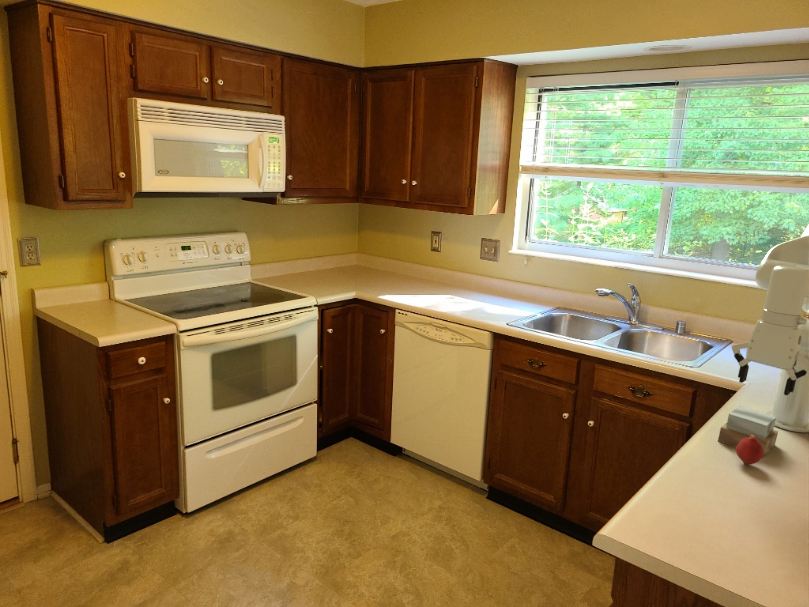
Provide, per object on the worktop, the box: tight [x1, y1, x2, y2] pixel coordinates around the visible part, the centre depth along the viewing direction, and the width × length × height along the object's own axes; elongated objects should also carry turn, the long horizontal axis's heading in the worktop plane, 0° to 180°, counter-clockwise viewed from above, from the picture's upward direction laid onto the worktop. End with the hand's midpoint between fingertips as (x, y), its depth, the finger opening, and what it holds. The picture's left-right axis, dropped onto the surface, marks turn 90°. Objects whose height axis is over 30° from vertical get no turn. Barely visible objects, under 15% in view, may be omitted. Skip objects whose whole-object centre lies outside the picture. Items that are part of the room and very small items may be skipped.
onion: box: [735, 435, 763, 466], centre depth 149 cm, size 6×6×8 cm
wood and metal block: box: [717, 405, 779, 458], centre depth 162 cm, size 11×11×8 cm
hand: (764, 387), depth 145 cm, fingers open, 9 cm apart
